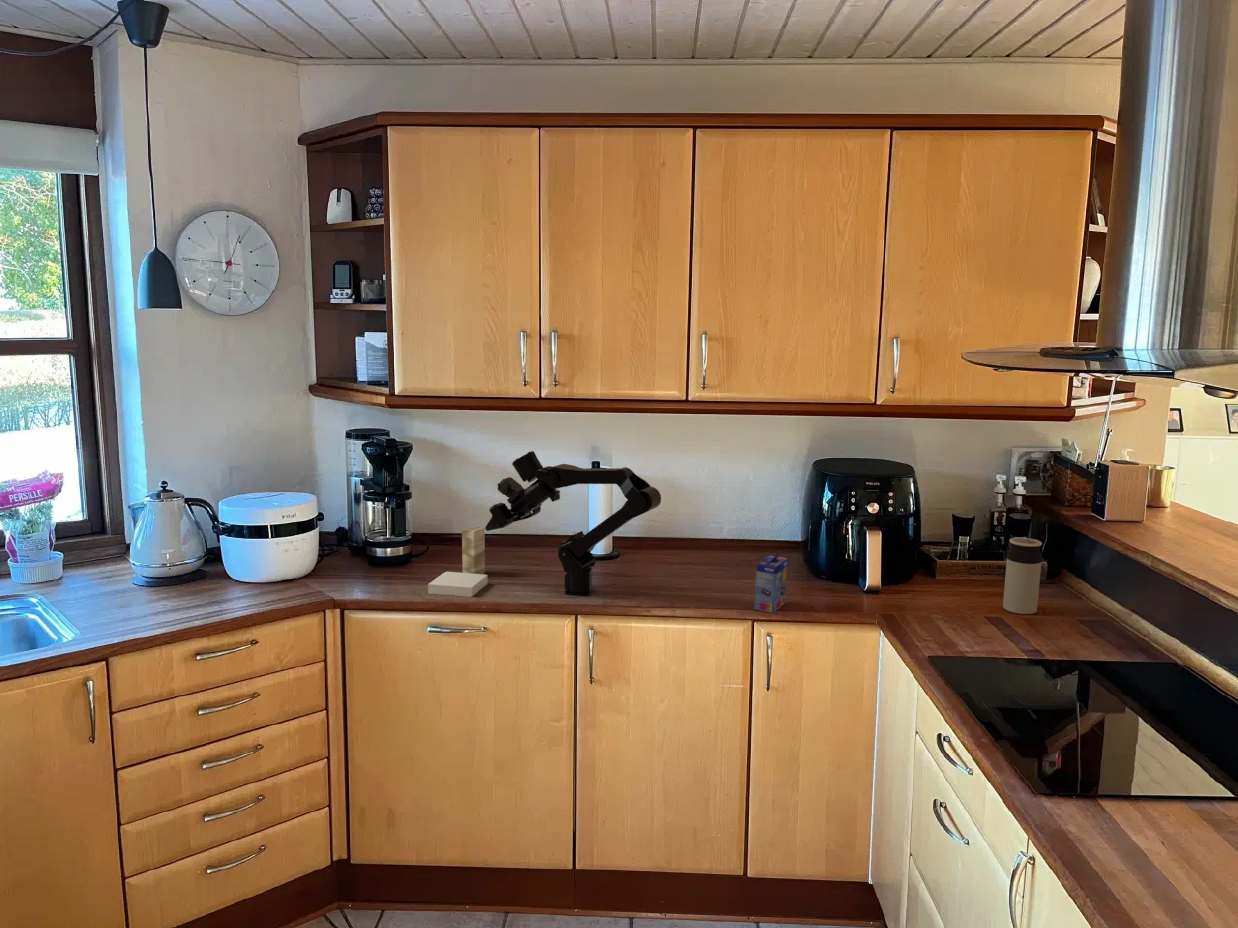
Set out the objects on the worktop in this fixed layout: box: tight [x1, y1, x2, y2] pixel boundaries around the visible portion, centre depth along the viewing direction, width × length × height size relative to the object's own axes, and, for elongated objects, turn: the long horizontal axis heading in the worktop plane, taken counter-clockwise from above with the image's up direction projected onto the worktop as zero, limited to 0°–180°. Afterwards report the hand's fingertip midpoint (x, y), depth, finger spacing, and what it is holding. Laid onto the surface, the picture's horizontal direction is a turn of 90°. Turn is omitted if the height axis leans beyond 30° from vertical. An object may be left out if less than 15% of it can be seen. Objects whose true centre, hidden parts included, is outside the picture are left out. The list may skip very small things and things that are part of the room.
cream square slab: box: [427, 571, 489, 598], centre depth 245 cm, size 12×12×3 cm
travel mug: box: [1002, 537, 1043, 615], centre depth 231 cm, size 8×8×18 cm
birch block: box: [461, 525, 486, 574], centre depth 257 cm, size 4×5×13 cm
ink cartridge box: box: [753, 550, 789, 614], centre depth 232 cm, size 10×6×14 cm, turn 152°
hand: (495, 525), depth 251 cm, fingers open, 9 cm apart
